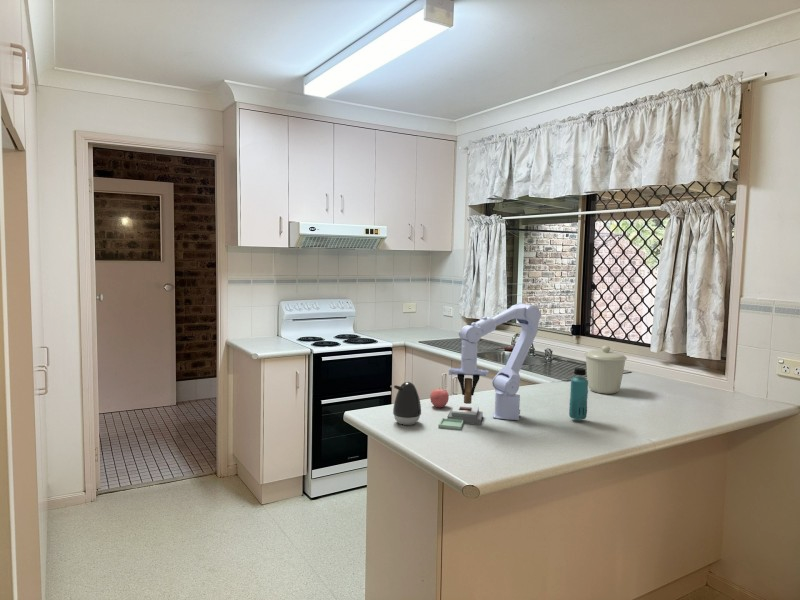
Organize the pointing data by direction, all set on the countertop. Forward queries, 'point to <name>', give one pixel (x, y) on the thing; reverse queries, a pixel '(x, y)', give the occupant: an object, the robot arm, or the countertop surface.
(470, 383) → the brown wooden cylinder
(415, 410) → the pump dispenser
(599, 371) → the canister
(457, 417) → the box
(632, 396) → the countertop surface
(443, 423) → the rest tray
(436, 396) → the apple
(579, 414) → the beverage bottle
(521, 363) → the robot arm
